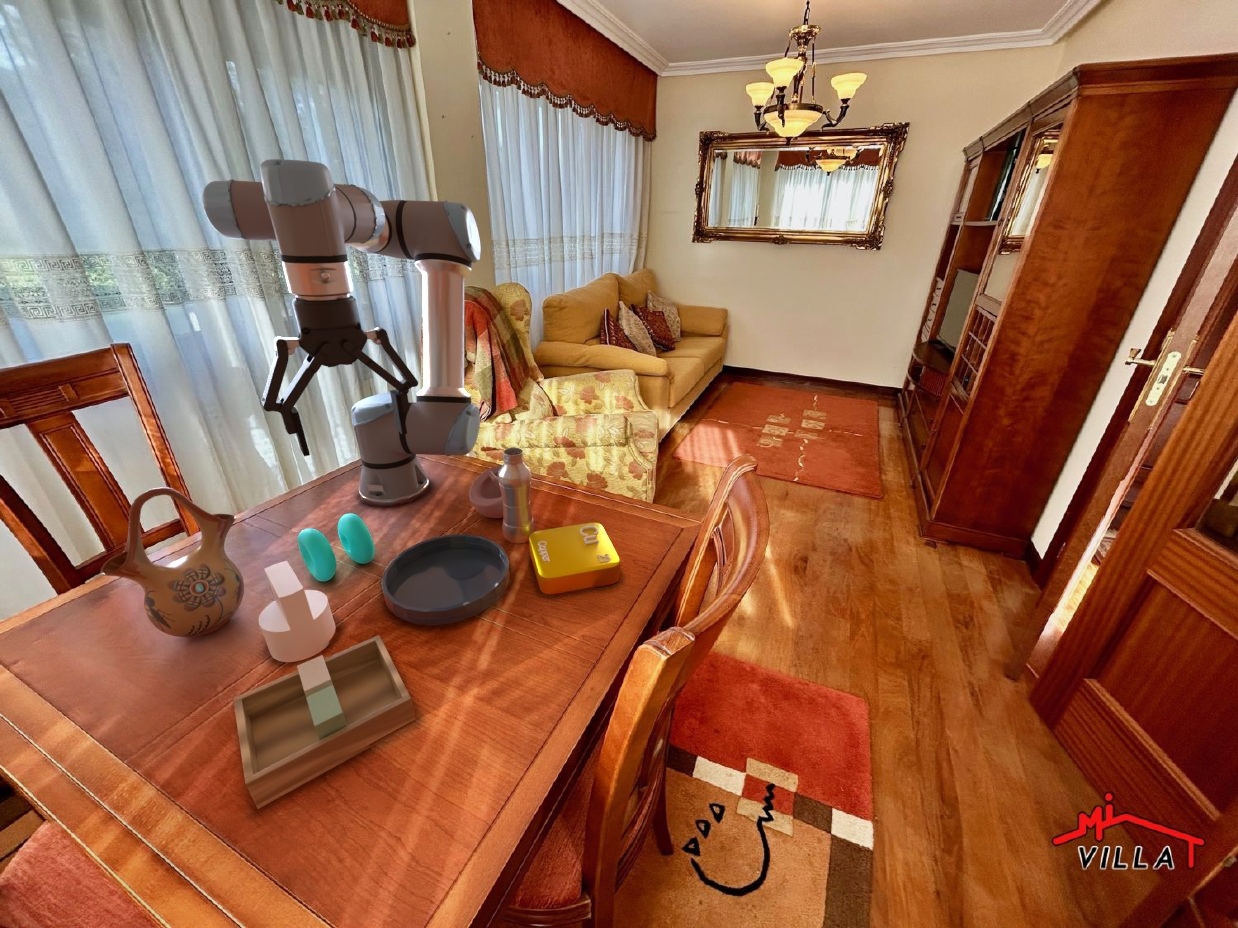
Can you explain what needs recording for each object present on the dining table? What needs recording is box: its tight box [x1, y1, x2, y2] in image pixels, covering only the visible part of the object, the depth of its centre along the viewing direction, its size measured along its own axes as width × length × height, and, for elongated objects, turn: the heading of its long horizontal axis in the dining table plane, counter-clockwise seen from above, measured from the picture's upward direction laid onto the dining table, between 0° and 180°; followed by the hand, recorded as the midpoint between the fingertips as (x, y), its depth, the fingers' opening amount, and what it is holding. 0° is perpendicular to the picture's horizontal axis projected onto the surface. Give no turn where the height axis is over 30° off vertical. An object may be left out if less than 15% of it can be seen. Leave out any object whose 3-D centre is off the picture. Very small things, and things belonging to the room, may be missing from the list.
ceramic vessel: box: [100, 487, 245, 638], centre depth 74 cm, size 16×9×25 cm, turn 153°
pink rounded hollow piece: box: [468, 464, 503, 519], centre depth 109 cm, size 12×12×11 cm
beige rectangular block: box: [296, 654, 333, 697], centre depth 66 cm, size 5×3×6 cm, turn 39°
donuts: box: [297, 512, 376, 582], centre depth 91 cm, size 10×10×10 cm
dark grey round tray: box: [380, 533, 511, 626], centre depth 90 cm, size 21×22×4 cm
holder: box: [232, 634, 417, 810], centre depth 65 cm, size 14×18×5 cm
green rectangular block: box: [306, 685, 347, 740], centre depth 62 cm, size 5×3×6 cm, turn 39°
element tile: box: [528, 522, 621, 595], centre depth 95 cm, size 15×15×5 cm
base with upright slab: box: [257, 560, 337, 663], centre depth 75 cm, size 9×9×12 cm
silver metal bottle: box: [497, 447, 536, 545], centre depth 99 cm, size 6×7×20 cm
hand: (356, 441), depth 76 cm, fingers open, 13 cm apart
